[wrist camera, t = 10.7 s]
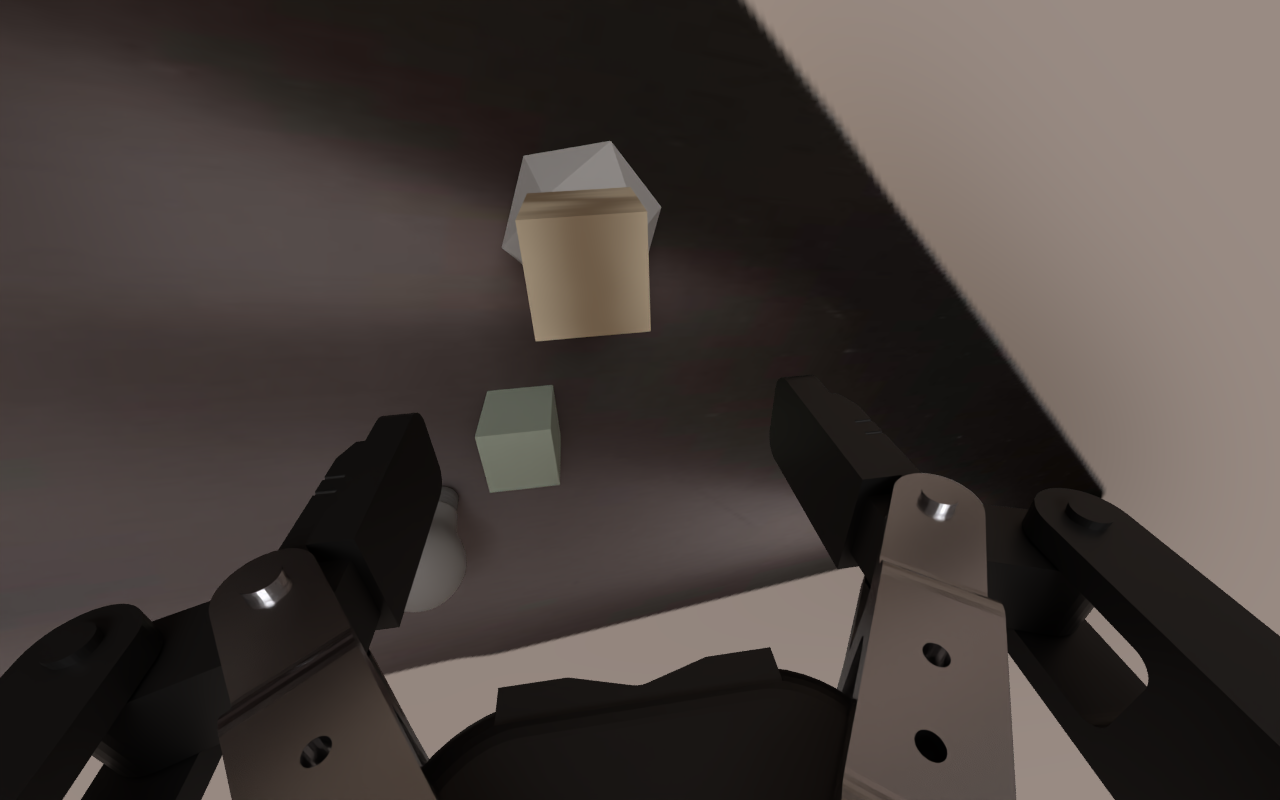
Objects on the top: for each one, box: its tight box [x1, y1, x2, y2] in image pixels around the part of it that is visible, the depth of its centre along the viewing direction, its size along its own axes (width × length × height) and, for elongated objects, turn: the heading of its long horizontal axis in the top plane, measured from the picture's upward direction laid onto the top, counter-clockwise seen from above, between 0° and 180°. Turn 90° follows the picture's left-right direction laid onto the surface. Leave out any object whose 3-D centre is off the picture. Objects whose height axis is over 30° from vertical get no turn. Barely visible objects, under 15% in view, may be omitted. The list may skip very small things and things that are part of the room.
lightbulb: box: [404, 486, 467, 612], centre depth 37 cm, size 6×6×11 cm
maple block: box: [515, 187, 651, 341], centre depth 22 cm, size 5×5×6 cm
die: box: [502, 141, 661, 264], centre depth 28 cm, size 8×9×10 cm
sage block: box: [475, 385, 561, 493], centre depth 36 cm, size 5×5×6 cm
